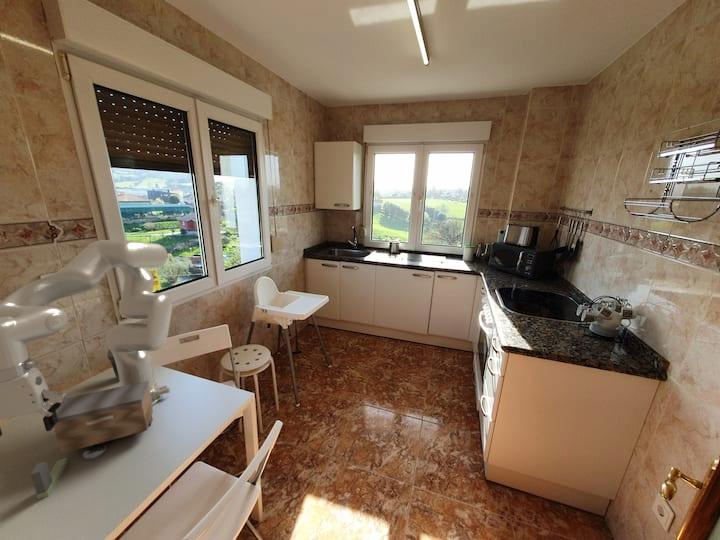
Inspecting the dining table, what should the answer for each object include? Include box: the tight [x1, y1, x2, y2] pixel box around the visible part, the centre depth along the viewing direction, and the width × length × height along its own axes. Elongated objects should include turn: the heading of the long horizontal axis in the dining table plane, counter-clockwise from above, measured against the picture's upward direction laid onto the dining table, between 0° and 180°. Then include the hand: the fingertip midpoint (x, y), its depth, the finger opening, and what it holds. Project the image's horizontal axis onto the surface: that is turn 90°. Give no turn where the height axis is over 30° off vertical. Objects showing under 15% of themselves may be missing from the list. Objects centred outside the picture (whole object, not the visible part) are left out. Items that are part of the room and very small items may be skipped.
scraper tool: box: [30, 457, 69, 500], centre depth 75 cm, size 2×10×8 cm, turn 26°
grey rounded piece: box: [82, 442, 108, 462], centre depth 83 cm, size 5×5×2 cm
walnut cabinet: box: [53, 381, 154, 454], centre depth 86 cm, size 21×10×15 cm, turn 116°
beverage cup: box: [107, 348, 120, 382], centre depth 115 cm, size 7×7×20 cm
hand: (24, 433), depth 67 cm, fingers open, 9 cm apart
